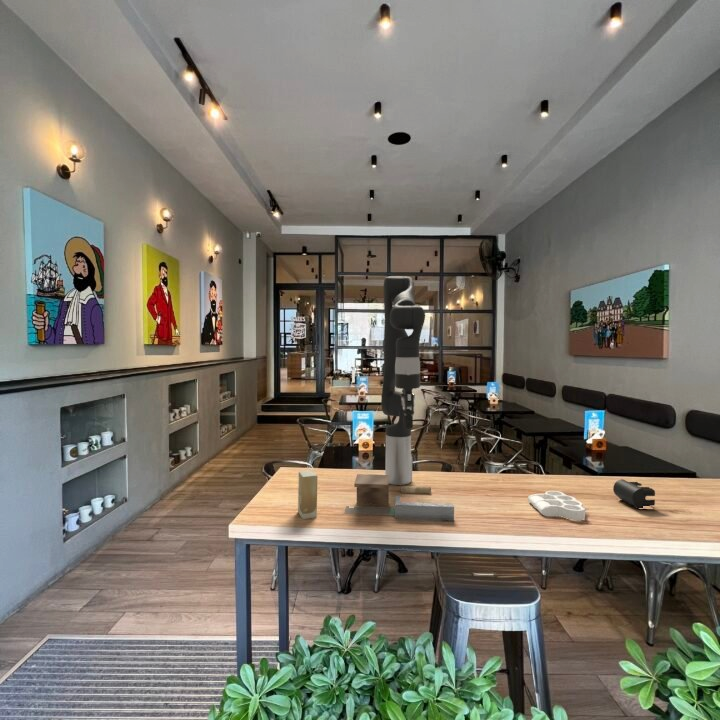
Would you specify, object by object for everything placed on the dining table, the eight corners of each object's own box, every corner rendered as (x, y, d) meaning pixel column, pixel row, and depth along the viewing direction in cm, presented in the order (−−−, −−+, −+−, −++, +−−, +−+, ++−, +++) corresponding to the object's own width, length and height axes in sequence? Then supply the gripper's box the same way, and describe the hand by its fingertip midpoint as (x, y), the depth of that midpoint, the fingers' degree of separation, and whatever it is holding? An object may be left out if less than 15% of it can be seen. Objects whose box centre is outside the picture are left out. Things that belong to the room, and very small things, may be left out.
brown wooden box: (354, 514, 125) (354, 483, 125) (356, 502, 135) (357, 474, 135) (388, 515, 124) (388, 484, 124) (388, 503, 134) (389, 475, 134)
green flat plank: (344, 513, 125) (344, 513, 125) (346, 506, 131) (346, 506, 131) (430, 516, 123) (430, 516, 123) (428, 509, 129) (428, 509, 129)
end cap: (612, 499, 140) (612, 479, 140) (634, 499, 140) (634, 479, 140) (632, 510, 130) (633, 488, 130) (655, 510, 130) (656, 488, 130)
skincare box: (297, 511, 126) (297, 470, 126) (311, 510, 128) (312, 469, 128) (302, 519, 120) (302, 476, 120) (317, 517, 122) (317, 475, 122)
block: (400, 515, 124) (400, 503, 124) (400, 509, 129) (400, 497, 129) (417, 515, 124) (417, 503, 124) (416, 509, 129) (416, 498, 129)
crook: (395, 518, 121) (395, 504, 121) (395, 509, 129) (395, 495, 129) (454, 521, 120) (454, 507, 120) (450, 511, 128) (450, 498, 127)
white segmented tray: (524, 500, 139) (569, 501, 139) (545, 521, 121) (598, 523, 121) (524, 490, 139) (570, 491, 139) (545, 509, 121) (598, 511, 121)
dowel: (401, 484, 145) (400, 489, 147) (401, 490, 143) (401, 494, 145) (430, 485, 145) (430, 490, 146) (431, 490, 143) (430, 495, 144)
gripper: (394, 370, 137) (394, 421, 137) (396, 374, 122) (396, 430, 123) (417, 370, 136) (418, 421, 137) (422, 373, 122) (422, 430, 123)
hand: (407, 425), depth 130 cm, fingers open, 8 cm apart
